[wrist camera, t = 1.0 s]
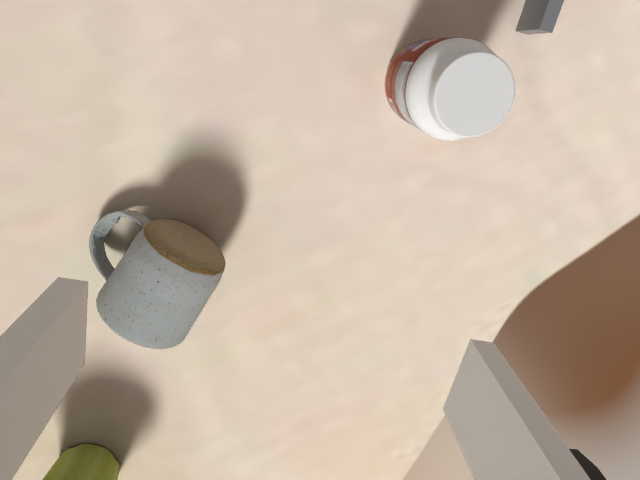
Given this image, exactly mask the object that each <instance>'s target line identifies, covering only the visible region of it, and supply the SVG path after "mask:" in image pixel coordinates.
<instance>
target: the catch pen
mask: <svg viewBox="0 0 640 480" xmlns="http://www.w3.org/2000/svg"><path fill="white" fill-rule="evenodd" d="M563 1H564V0H526V2H525V5H524V8H523V11H522V14H521V17H520V20H519V23H518V26H517V29H516V31H517V32H521V33H525V34H539V33H552V32H553V29H554V26H555V24H556V21H557V18H558V15H559V12H560V10H561V7H562V4H563Z"/></svg>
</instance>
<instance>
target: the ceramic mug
mask: <svg viewBox="0 0 640 480" xmlns="http://www.w3.org/2000/svg"><path fill="white" fill-rule="evenodd" d="M121 216H122V217H128V218H130V219H131V220H133V221H135V222H136V223H137V224H139V225H141V227H142V228H143V229H142V230H141V231H140V232H139V233H138V234H137V235H136V237H135V238H134V240H133V241H132V243H131V244H130V246H129V248H128V249H127V251H126V253H125V255H124V256H123V258H122V259H121V261H120V262H119V263H118V265H117V266H116V268H115V269H114V267H113V266H112V265H111V263H110V262H109V260H108V258H107V256H106V252H105V247H104V241H105V237H106V235H107V234H108V232H109V231H110V229H111V228H112V227H113V226H114V224H116V223H118V222H119V219H120V217H121ZM89 247H90V253H91V256H92V259H93V262H94V264H95V266H96V268H97V269H98V271H99V272H100V273H101V275H102V276H103V277H104V278H105V279H106V283H105V284H104V286H103V287H102V289H101V290H100V292H99V294H98V297H97V299H96V304H97V310H98V312H99V314H100V316H101V318H102V319H103V321H104V322H105V323H106V324H107V325H108V326H109V327H110V328H111V329H112V330H113V331H114V332H115V333H116V334H118V335H120V336H121V337H123V338H124V339H126V340H128V341H130V342H132V343H134V344H137V345H140V346H143V347H147V348H152V349H168V348H172V347H175V346H177V345H178V344H180V343H181V342H182V341H183V340H184V339H185V337H186V336H187V334H188V332H189V330H190V329H191V327H192V325H193V324H194V322H195V321H196V319H197V318H198V316H199V314H200V313H201V311H202V309H203V308H204V306H205V304H206V302H207V301H208V299H209V298H210V296H211V295H212V293H213V291H214V290H215V288H216V287H217V285H218V283H219V281H220V279H221V276H222V274H223V272H224V268H225V259H224V256H223V253H222V252H221V250H220V248H219V247H218V246H217V245H216V244H215V243H214V242H213V241H212V240H211V239H210V238H209V237H207V236H206V235H204V234H203V233H202V232H200V231H198V230H197V229H195V228H193V227H191V226H189V225H187V224H184V223H182V222H179V221H175V220H171V219H157V220H153V221H151V220H150V219H149V218H148V217H146V216H145V215H143V214H140V213H138V212H136V211H131V210H119V211H113V212H110V213H108V214H106V215H104V216H103V217H102V218H101V219H100V220H99V221H98V222H97V223H96V225H95V226H94V228H93V230H92V232H91V235H90V240H89Z"/></svg>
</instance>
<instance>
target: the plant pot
mask: <svg viewBox="0 0 640 480" xmlns="http://www.w3.org/2000/svg"><path fill="white" fill-rule="evenodd" d="M118 474H119V463H118V462H117V461H116V460H115V458H114V456H113V454H112V453H111V452H110V451H109V450H107V449H105V448H103V447H101V446H97V445H93V444H81V445H79V446H76V447H74V448H68V449H66V450H65V451H64V452H63V453H62V454H61V455H60V457H59V458H58V459H57V461H56V462H55V463H54V465H53V466H52V468H51V469H50V470H49V472H48V473H47V474H46V476H45V477H44V478H43V480H117V479H118Z"/></svg>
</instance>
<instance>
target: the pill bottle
mask: <svg viewBox="0 0 640 480" xmlns="http://www.w3.org/2000/svg"><path fill="white" fill-rule="evenodd" d="M385 93H386V97H387V101H388V103H389V105H390V107H391V108H392V110H393V111H394V112H395V113H396V114H397V115H398V116H399V117H400V118H402V119H403V120H405V121H406V122H408V123H409V124H411V125H413V126H414V127H416V128H418V129H419V130H421V131H423V132H424V133H426V134H428V135H430V136H432V137H434V138H437V139H441V140H459V139H463V138H466V137H476V136H480V135H483V134H486V133H488V132H490V131H492V130H493V129H494V128H496V127H497V126H498V125H499V124H500V123H501V122H502V121H503V120H504V119H505V117H506V116H507V114H508V113H509V111H510V109H511V106H512V104H513V100H514V95H515V83H514V78H513V75H512V72H511V70H510V68H509V67H508V65H507V64H506V63H505V62H504V61H503V60H502V59H501V58H499V57H498V56H496V55H495V54H494V52H493V51H492V50H491V49H490V48H488V47H487V46H486V45H484V44H483V43H481V42H479V41H476V40H473V39H469V38H442V39H427V40H420V41H417V42H414V43H412V44H410V45H408V46H406V47H405V48H403V49H402V50H401V51H400V52H398V54H397V55H396V56H395V57H394V58H393V60H392V61H391V63H390V65H389V67H388V70H387V73H386V77H385Z"/></svg>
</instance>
